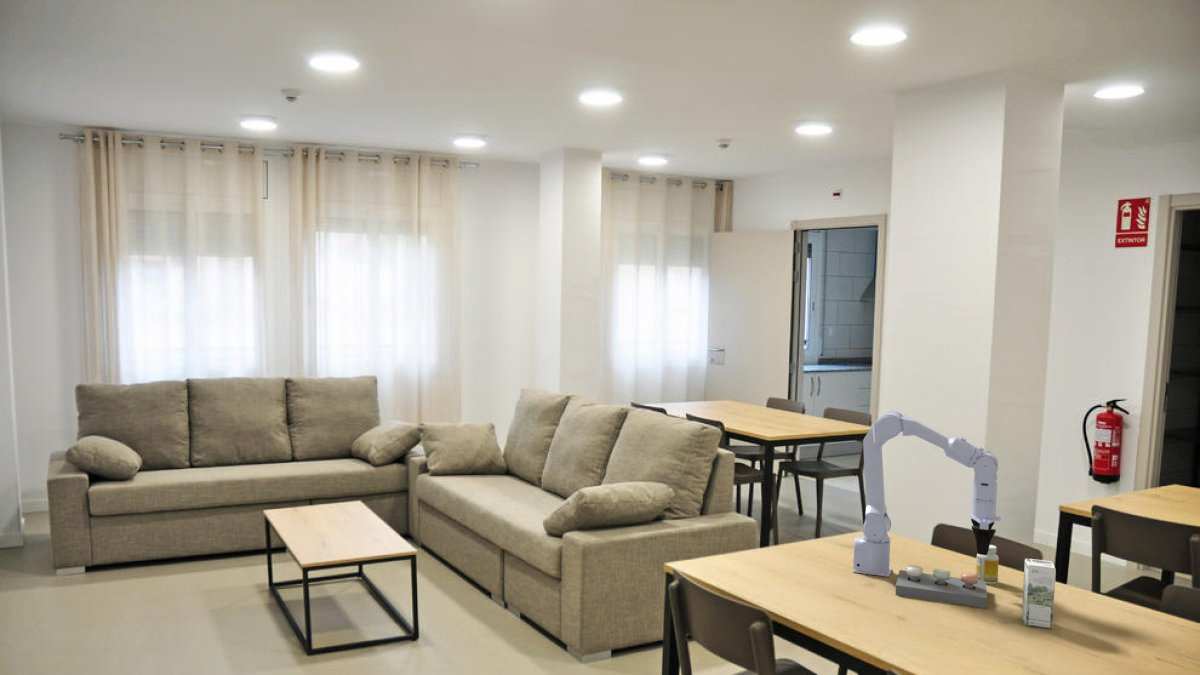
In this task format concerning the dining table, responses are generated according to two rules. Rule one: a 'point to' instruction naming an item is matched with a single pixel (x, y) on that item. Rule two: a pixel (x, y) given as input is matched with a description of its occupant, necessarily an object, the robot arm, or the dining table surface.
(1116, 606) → the dining table surface
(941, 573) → the button sage
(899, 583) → the panel
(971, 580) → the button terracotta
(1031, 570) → the syrup box
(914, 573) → the button cream
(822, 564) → the dining table surface
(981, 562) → the supplement bottle
